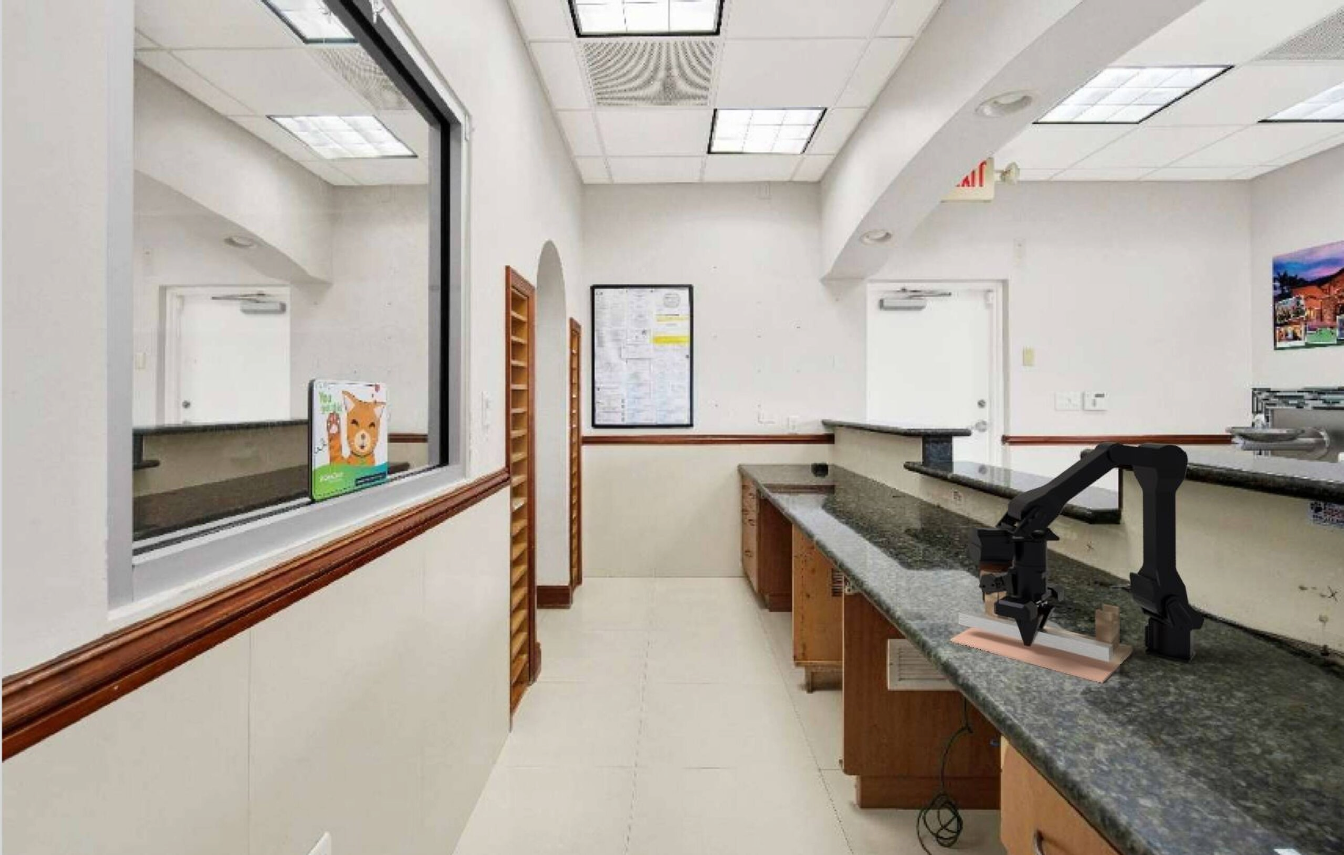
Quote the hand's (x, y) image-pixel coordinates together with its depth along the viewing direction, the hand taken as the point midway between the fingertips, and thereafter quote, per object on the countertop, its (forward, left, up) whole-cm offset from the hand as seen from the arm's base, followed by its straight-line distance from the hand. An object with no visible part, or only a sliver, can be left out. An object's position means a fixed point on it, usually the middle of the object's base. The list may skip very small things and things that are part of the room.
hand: (1030, 643), depth 118 cm
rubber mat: (0, 0, -2) cm, 2 cm away
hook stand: (0, -10, -2) cm, 10 cm away
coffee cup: (+16, -26, -2) cm, 31 cm away
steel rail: (0, 0, +1) cm, 1 cm away
